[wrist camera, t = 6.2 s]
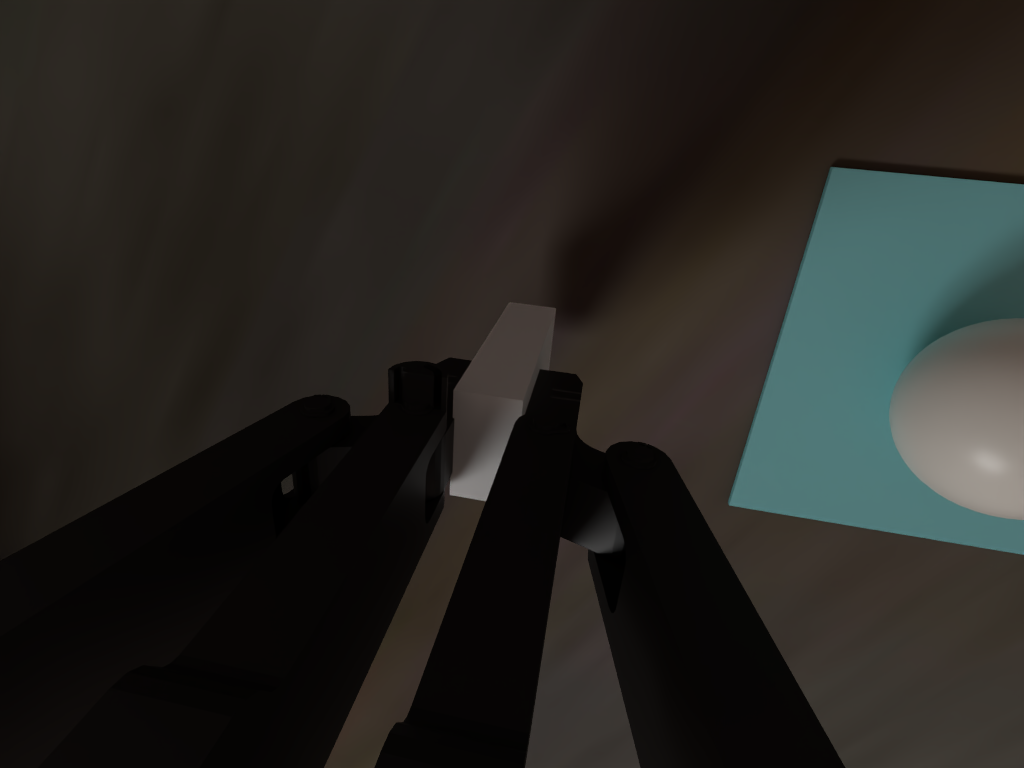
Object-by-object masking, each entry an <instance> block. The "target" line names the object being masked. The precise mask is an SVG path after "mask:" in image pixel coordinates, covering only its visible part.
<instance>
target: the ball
mask: <svg viewBox="0 0 1024 768" xmlns="http://www.w3.org/2000/svg"><path fill="white" fill-rule="evenodd" d="M889 422H890V428H891V433H892V437H893V440H894V443H895V446H896V448H897V450H898V452H899V453H900V455H901V457H902V459H903V460H904V462H905V463H906V464H907V466H908V467H909V468H910V470H911V471H912V472H913V473H914V474H915V475H916V476H917V477H918V478H919V479H920V480H921V481H922V482H923V483H925V484H926V485H927V486H928V487H930V488H931V489H932V490H933V491H935V492H936V493H938V494H939V495H941V496H942V497H944V498H946V499H947V500H949V501H952V502H954V503H956V504H958V505H960V506H962V507H965V508H968V509H970V510H973V511H976V512H979V513H983V514H987V515H990V516H995V517H1001V518H1006V519H1017V520H1024V318H1010V319H998V320H991V321H985V322H981V323H977V324H973V325H969V326H966V327H963V328H961V329H958V330H955V331H953V332H951V333H949V334H947V335H945V336H942V337H941V338H939V339H937V340H936V341H934V342H933V343H931V344H929V345H928V346H927V347H926V348H924V349H923V350H922V351H921V352H919V353H918V354H917V355H916V356H915V357H914V358H913V360H912V361H911V362H910V363H909V364H908V365H907V366H906V368H905V369H904V371H903V372H902V373H901V375H900V377H899V379H898V381H897V383H896V384H895V387H894V390H893V393H892V397H891V402H890V408H889Z"/></svg>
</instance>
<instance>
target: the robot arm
mask: <svg viewBox="0 0 1024 768" xmlns="http://www.w3.org/2000/svg"><path fill="white" fill-rule="evenodd" d="M555 314H556V308H551V307H543V306H535V305H528V304H520V303H512V302H509V303H508V305H507V307H506V308H505V310H504V311H503V313H502V315H501V316H500V318H499V319H498V321H497V322H496V324H495V326H494V327H493V329H492V330H491V332H490V333H489V335H488V337H487V338H486V340H485V341H484V343H483V344H482V346H481V348H480V349H479V351H478V352H477V354H476V356H475V357H474V359H473V360H472V361H470V360H463V359H456V358H448V359H446V360H443V361H441V362H439V363H437V364H434V363H430V362H422V361H411V362H403V363H400V364H396V365H394V366H392V367H391V368H389V369H388V384H389V403H388V405H387V406H386V407H385V408H384V409H383V411H382V412H381V413H380V414H379V415H374V416H351V414H350V405H349V404H348V403H347V401H345V400H343V399H341V398H339V397H334V396H330V395H314V396H311V397H305V398H302V399H300V400H297V401H294V402H292V403H291V404H289V405H287V406H285V407H283V408H281V409H280V410H278V411H276V412H274V413H272V414H270V415H269V416H267V417H265V418H263V419H261V420H259V421H257V422H256V423H254V424H252V425H250V426H248V427H246V428H245V429H243V430H241V431H239V432H237V433H235V434H233V435H232V436H230V437H228V438H226V439H224V440H222V441H221V442H219V443H217V444H215V445H213V446H211V447H210V448H208V449H206V450H204V451H202V452H200V453H198V454H197V455H195V456H193V457H191V458H189V459H187V460H186V461H184V462H182V463H180V464H178V465H176V466H175V467H173V468H171V469H169V470H167V471H165V472H163V473H162V474H160V475H158V476H156V477H154V478H152V479H151V480H149V481H147V482H145V483H143V484H141V485H139V486H138V487H136V488H134V489H132V490H130V491H128V492H127V493H125V494H123V495H121V496H119V497H117V498H116V499H114V500H112V501H110V502H108V503H106V504H104V505H103V506H101V507H99V508H97V509H95V510H93V511H92V512H90V513H88V514H86V515H84V516H82V517H81V518H79V519H77V520H75V521H73V522H71V523H69V524H68V525H66V526H64V527H62V528H60V529H58V530H57V531H55V532H53V533H51V534H49V535H47V536H45V537H44V538H42V539H40V540H38V541H36V542H34V543H33V544H31V545H29V546H27V547H25V548H23V549H22V550H20V551H18V552H16V553H14V554H12V555H10V556H9V557H7V558H5V559H3V560H1V561H0V768H324V766H325V764H326V762H327V760H328V758H329V756H330V753H331V751H332V749H333V747H334V745H335V742H336V740H337V738H338V736H339V734H340V732H341V729H342V727H343V725H344V723H345V721H346V719H347V716H348V714H349V712H350V710H351V708H352V706H353V703H354V701H355V699H356V697H357V695H358V693H359V690H360V688H361V686H362V684H363V682H364V679H365V677H366V675H367V673H368V671H369V669H370V666H371V664H372V662H373V660H374V658H375V656H376V653H377V651H378V649H379V647H380V645H381V643H382V640H383V638H384V636H385V634H386V632H387V629H388V627H389V625H390V623H391V621H392V619H393V616H394V614H395V612H396V610H397V608H398V606H399V603H400V601H401V599H402V597H403V595H404V593H405V590H406V588H407V586H408V584H409V582H410V580H411V577H412V575H413V573H414V571H415V569H416V566H417V564H418V562H419V560H420V558H421V556H422V553H423V551H424V549H425V547H426V545H427V543H428V540H429V538H430V536H431V534H432V532H433V530H434V527H435V525H436V523H437V521H438V519H439V517H440V514H441V512H442V510H443V507H444V497H445V487H446V485H447V483H448V481H449V479H450V495H454V496H460V497H465V498H471V499H477V500H482V501H486V503H485V506H484V508H483V511H482V514H481V517H480V519H479V522H478V525H477V528H476V530H475V533H474V536H473V539H472V541H471V544H470V547H469V550H468V552H467V555H466V558H465V560H464V563H463V566H462V569H461V571H460V574H459V577H458V580H457V582H456V585H455V588H454V591H453V593H452V596H451V599H450V602H449V604H448V607H447V610H446V613H445V615H444V618H443V621H442V624H441V626H440V629H439V632H438V635H437V637H436V640H435V643H434V646H433V648H432V651H431V654H430V657H429V659H428V662H427V665H426V667H425V670H424V673H423V676H422V678H421V681H420V684H419V687H418V689H417V692H416V695H415V698H414V700H413V703H412V706H411V708H410V711H409V713H408V715H407V717H406V719H405V720H404V722H399V723H396V724H395V725H394V726H393V728H392V729H391V731H390V732H389V734H388V737H387V739H386V741H385V743H384V746H383V748H382V750H381V752H380V755H379V757H378V760H377V763H376V765H375V768H525V764H526V758H527V751H528V745H529V738H530V731H531V725H532V718H533V712H534V705H535V699H536V692H537V686H538V679H539V672H540V666H541V659H542V653H543V646H544V640H545V633H546V627H547V620H548V613H549V607H550V600H551V594H552V587H553V581H554V574H555V568H556V561H557V555H558V548H559V542H560V537H562V538H564V539H567V540H569V541H571V542H574V543H576V544H578V545H580V546H583V547H585V548H587V549H589V550H588V561H589V565H590V569H591V573H592V577H593V581H594V585H595V589H596V593H597V597H598V601H599V605H600V609H601V613H602V617H603V621H604V625H605V629H606V633H607V637H608V640H609V644H610V648H611V652H612V656H613V660H614V664H615V668H616V672H617V676H618V680H619V684H620V688H621V692H622V696H623V700H624V704H625V708H626V712H627V716H628V719H629V723H630V727H631V731H632V735H633V739H634V743H635V747H636V751H637V755H638V759H639V763H640V767H641V768H845V766H844V765H843V763H842V761H841V759H840V758H839V756H838V754H837V752H836V750H835V749H834V747H833V745H832V743H831V742H830V740H829V738H828V736H827V735H826V733H825V731H824V729H823V727H822V726H821V724H820V722H819V720H818V719H817V717H816V715H815V713H814V712H813V710H812V708H811V706H810V705H809V703H808V701H807V699H806V697H805V696H804V694H803V692H802V690H801V689H800V687H799V685H798V683H797V682H796V680H795V678H794V676H793V674H792V673H791V671H790V669H789V667H788V666H787V664H786V662H785V660H784V659H783V657H782V655H781V653H780V651H779V650H778V648H777V646H776V644H775V643H774V641H773V639H772V637H771V636H770V634H769V632H768V630H767V629H766V627H765V625H764V623H763V621H762V620H761V618H760V616H759V614H758V613H757V611H756V609H755V607H754V606H753V604H752V602H751V600H750V598H749V597H748V595H747V593H746V591H745V590H744V588H743V586H742V584H741V583H740V581H739V579H738V577H737V575H736V574H735V572H734V570H733V568H732V567H731V565H730V563H729V561H728V560H727V558H726V556H725V554H724V553H723V551H722V549H721V547H720V545H719V544H718V542H717V540H716V538H715V537H714V535H713V533H712V531H711V530H710V528H709V526H708V524H707V522H706V521H705V519H704V517H703V515H702V514H701V512H700V510H699V508H698V507H697V505H696V503H695V501H694V500H693V498H692V496H691V494H690V492H689V491H688V489H687V487H686V485H685V484H684V482H683V480H682V478H681V477H680V475H679V473H678V471H677V469H676V468H675V466H674V464H673V462H672V461H671V459H670V458H669V457H668V456H667V455H666V454H665V453H664V452H662V451H661V450H659V449H657V448H656V447H654V446H651V445H649V444H648V445H647V444H646V443H642V442H632V441H628V442H619V443H616V444H613V445H611V446H610V447H609V448H608V449H607V451H606V453H604V452H601V451H599V450H596V449H594V448H592V447H590V446H588V445H587V444H585V443H584V442H583V441H582V440H581V439H580V438H579V436H578V435H577V431H576V427H577V420H578V413H579V406H580V400H581V393H582V386H583V383H582V382H581V380H580V379H579V377H578V376H577V375H576V374H570V373H563V372H556V371H549V365H550V356H551V348H552V339H553V331H554V322H555ZM291 474H292V477H293V486H294V489H293V490H291V491H290V492H289V493H287V494H284V495H283V493H282V488H281V482H282V481H283V480H284V479H285V478H286V477H288V476H289V475H291Z"/></svg>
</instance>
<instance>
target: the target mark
mask: <svg viewBox="0 0 1024 768" xmlns="http://www.w3.org/2000/svg"><path fill="white" fill-rule="evenodd" d="M1010 318H1024V184H1014V183H1003V182H992V181H981V180H970V179H959V178H948V177H937V176H926V175H915V174H904V173H893V172H882V171H871V170H860V169H849V168H838V167H830V170H829V174H828V177H827V180H826V183H825V187H824V190H823V193H822V197H821V200H820V203H819V206H818V210H817V213H816V216H815V219H814V223H813V226H812V229H811V233H810V236H809V239H808V242H807V246H806V249H805V252H804V255H803V259H802V262H801V265H800V269H799V272H798V275H797V278H796V282H795V285H794V288H793V291H792V295H791V298H790V301H789V304H788V308H787V311H786V314H785V318H784V321H783V324H782V327H781V331H780V334H779V337H778V340H777V344H776V347H775V350H774V354H773V357H772V360H771V363H770V367H769V370H768V373H767V376H766V380H765V383H764V386H763V390H762V393H761V396H760V399H759V403H758V406H757V409H756V412H755V416H754V419H753V422H752V425H751V429H750V432H749V435H748V439H747V442H746V445H745V448H744V452H743V455H742V458H741V461H740V465H739V468H738V471H737V475H736V478H735V481H734V484H733V488H732V491H731V494H730V497H729V501H728V504H729V505H730V506H736V507H742V508H748V509H754V510H760V511H766V512H772V513H778V514H784V515H790V516H796V517H802V518H808V519H814V520H820V521H826V522H832V523H838V524H844V525H850V526H856V527H862V528H868V529H874V530H880V531H886V532H892V533H897V534H903V535H909V536H915V537H921V538H927V539H933V540H939V541H945V542H951V543H957V544H963V545H969V546H975V547H981V548H987V549H993V550H999V551H1005V552H1011V553H1017V554H1023V555H1024V520H1017V519H1006V518H1001V517H995V516H990V515H987V514H983V513H979V512H976V511H973V510H970V509H968V508H965V507H962V506H960V505H958V504H956V503H954V502H952V501H949V500H947V499H946V498H944V497H942V496H941V495H939V494H938V493H936V492H935V491H933V490H932V489H931V488H930V487H928V486H927V485H926V484H925V483H923V482H922V481H921V480H920V479H919V478H918V477H917V476H916V475H915V474H914V473H913V472H912V471H911V470H910V468H909V467H908V466H907V464H906V463H905V462H904V460H903V459H902V457H901V455H900V453H899V452H898V450H897V448H896V446H895V443H894V440H893V437H892V433H891V428H890V422H889V408H890V402H891V397H892V393H893V390H894V387H895V384H896V383H897V381H898V379H899V377H900V375H901V373H902V372H903V371H904V369H905V368H906V366H907V365H908V364H909V363H910V362H911V361H912V360H913V358H914V357H915V356H916V355H917V354H918V353H919V352H921V351H922V350H923V349H924V348H926V347H927V346H928V345H929V344H931V343H933V342H934V341H936V340H937V339H939V338H941V337H942V336H945V335H947V334H949V333H951V332H953V331H955V330H958V329H961V328H963V327H966V326H969V325H973V324H977V323H981V322H985V321H991V320H998V319H1010Z"/></svg>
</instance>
